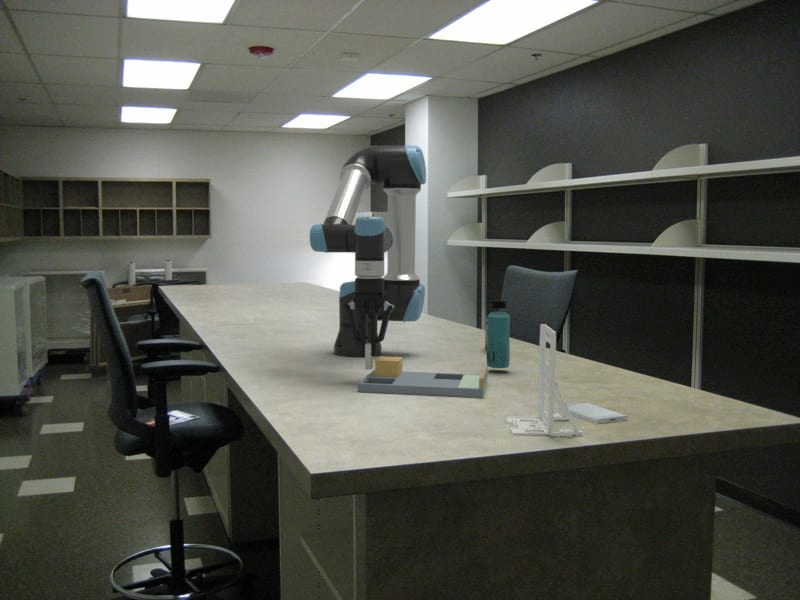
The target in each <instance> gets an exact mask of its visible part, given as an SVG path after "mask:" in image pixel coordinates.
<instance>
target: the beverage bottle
mask: <svg viewBox="0 0 800 600" xmlns="http://www.w3.org/2000/svg"><path fill="white" fill-rule="evenodd" d="M491 309H507V301H506V300H504V299H503V300H502V299H495V300H494V299H493V300H491ZM487 319H488V329H487V352H486V364H485V365H488V368H490V369H491V368H492V369H508V368H509V366H510V354H511V353H510V351H511V349H510V343H511V341H510V329H511V327H510V323H511V321H510V320H511V316H510V315H509V314H508V313H507V312H505V311H491V312H490V313H489V314H488V315H487Z"/></svg>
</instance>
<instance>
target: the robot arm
mask: <svg viewBox="0 0 800 600" xmlns="http://www.w3.org/2000/svg"><path fill="white" fill-rule="evenodd" d="M426 167H427V166H426V162H425V157H424V153H423V151H422V148H421V147H419V146H418V145H410V144H409V145H407V144H403V145H401V144H399V145H398V144H397V145H371V146H366V147H364V148H361V149H360V150H358V151H356V152H355V153H354V154H353V155H351V156H350V157H349V158H348V159H347V160H346V162H345V163H344V164H343V166H342V168H341V169H340V173H339V180H340V182H339V184H338V186H337V189H336V192H335V193H334V197H333V199H332V202H331V205H330V206H329V209H328V211H327V215H326V217H325V219H324V221H323V224H322V223H319V224H312V226H311V227H310V230H309V231H310V232H309V245H310V248H311V249H312V250H313V251H314V252H318V253H352V254H354V275H355V276H356V278H355V279H354V280H353V281H345V282H342V283H341V285H340V286H339V296H338V301H339V312H338V313H339V324H338V325H339V328H338V333H337V335H336V339H335V342H334V344H333V354H335V355H338V356H343V357H364V370H369V371H371V370H372V369H374V357H376V356H378V355H380V354H382V349H383V348H382V343H381V342H383V341H384V340H385V337H386V332H387V329H388V326H389V325H388V324H389V322H402V323H405V322H417V321H418V320H419V319H420V318H421V315H422V313H423V308H424V302H425V295H426V291H425V290H426V288H425V285H424V284H422V283H420V277H419V276H418V275H417V274H416V211H417V210H416V208H417V207H416V204H417V203H416V202H417V199H416V198H417V195H418V194H419V193H420V192H421V191H422V189H421V188H422V185H425V184H426V182H427V168H426ZM371 185H382V191H383V192H384V193H385V194H386V195H387V226H386V224H385V219H384V217H383V216H358V217H356V218H355V216H356V215H357V212H358V208H359V206H360V204H361V201H362V198H363V194H364V193H365V190H367V189H369V187H370V186H371ZM354 219H355V221H354ZM353 222H355V223H354V224H353ZM386 252H387V265H386V267H387V271H386V274H385V253H386ZM378 321H380V322H381V324H380V329H379V332H378Z"/></svg>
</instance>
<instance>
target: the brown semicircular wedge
mask: <svg viewBox="0 0 800 600" xmlns="http://www.w3.org/2000/svg"><path fill="white" fill-rule="evenodd" d="M484 320H485V321H484V322H485V323H484V326H485V327H484V331H485V332H484V333H485V334H484V335H485V336H484V338H485V339H484V350H485V353H487V329H488V318H485V319H484Z"/></svg>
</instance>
